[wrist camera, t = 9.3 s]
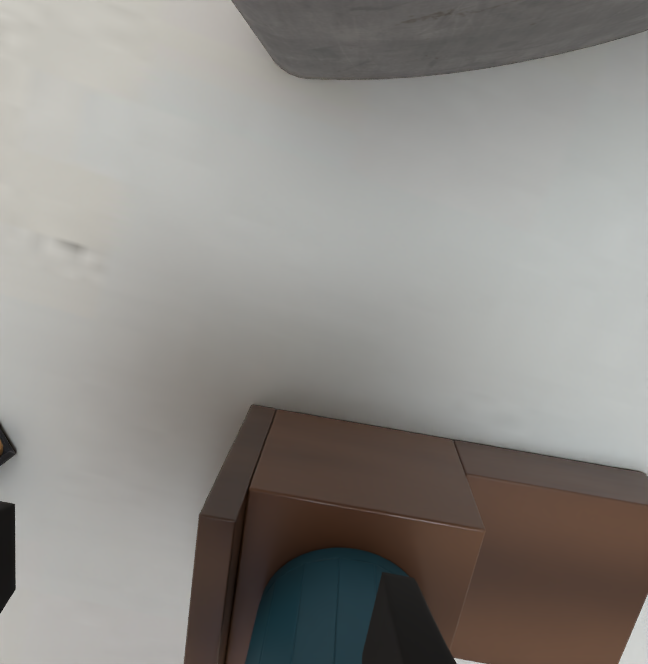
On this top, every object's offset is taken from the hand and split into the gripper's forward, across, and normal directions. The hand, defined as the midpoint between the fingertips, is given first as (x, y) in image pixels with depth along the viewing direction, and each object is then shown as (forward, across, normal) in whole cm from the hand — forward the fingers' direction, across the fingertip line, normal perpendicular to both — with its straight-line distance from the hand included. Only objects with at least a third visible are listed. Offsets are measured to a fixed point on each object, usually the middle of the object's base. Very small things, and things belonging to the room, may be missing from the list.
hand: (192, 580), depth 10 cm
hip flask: (+10, -6, -14) cm, 18 cm away
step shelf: (+10, -7, +5) cm, 14 cm away
